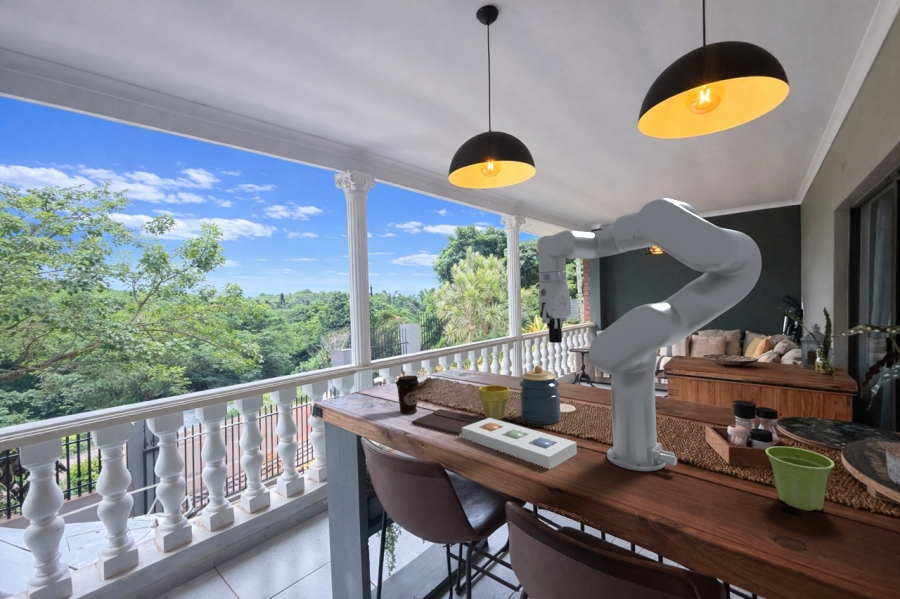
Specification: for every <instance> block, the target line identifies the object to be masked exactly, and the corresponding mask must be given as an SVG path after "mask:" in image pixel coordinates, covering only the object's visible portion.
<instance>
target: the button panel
mask: <svg viewBox="0 0 900 599" xmlns="http://www.w3.org/2000/svg"><path fill="white" fill-rule="evenodd" d="M487 423H495V424H498V425H499V429H497V430H494V431H492V432H491V431H488V430H485V429H483V425H484V424H487ZM511 430H518V431H522V432H523V433H524V437H521V438H519V439H517V440H516V439H513V438H510V437H507V436H506V432H508V431H511ZM461 438H462V439H464V438H465V439H464V440H467V439H468V441H470V440H471V441H470V442H473V443H475V442H476V443H475V444H478V443H479V445H481V446H483V447H486V446H487V448H489V447H490V448H489V449H492V448H493V450H495V451H497V450H499V451H498V452H500V451H501V452H500V453H503V452H505V453H504V454H506V453H507V454H506V455H508V454H510V455H509V456H511V455H513V456H512V457H514V456H515V457H514V458H517V457H518V458H517V459H519V458H521V459H520V460H522V459H524V460H523V461H525V460H526V461H525V462H528V461H529V462H528V463H530V462H532V463H531V464H533V463H534V464H533V465H536V464H537V465H536V466H538V465H540V466H539V467H541V466H543V467H542V468H544V467H545V469H547V468H548V469H547V470H549V469H550V470H551V468H552V469H554V468H555V467H557V466H558V465H560V464H562V463H564V462H565V461H567V460H569V459H570V458H572V457H574V456H577V454H578V450H577V441H574V440H570V439H567V438H563V437H559V436H557V435H552V434H549V433H545V432H541V431H538V430H534V429H530V428H529V427H524V426H521V425H517V424H514V423H511V422H507V421H503V420H501V419H493V418H486V419H485V420H482V421H479V422H476V423H473V424H471V425H468V426H465V427H462V434H461ZM539 438H544V439H549V440H551V441H552V446H550V447H548V448H546V449H545V448H541V447H538V446H535V445H533V441H534V440H535V439H539Z"/></svg>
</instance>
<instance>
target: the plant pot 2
mask: <svg viewBox="0 0 900 599" xmlns="http://www.w3.org/2000/svg"><path fill="white" fill-rule="evenodd" d="M765 455H766V456H768V460H769V462H770V463H771V468H772V473H773V477H774V478H773V479H774V484H775V488H776V492H777V498H778V499H779V500H780V501H783V502H784V503H786V504H787V505H788V506H790V507H793V508H796V509H799V510H802V511H814V510H817V511H822V509H823V507H824V503H825V494H826V489H827V482H828V478H829V475H830V474H831V470H833V469H834V467H835V462H834V461H833V460H832V459H830V458H829V457H827V456H825V455H823V454H820V453H819V452H818V453H817V452H814V451H812V450H808V449H807V450H806V449H804V448H798V447H792V446H782V445H781V446H777V445H776V446H770V447H767V448H766V449H765Z"/></svg>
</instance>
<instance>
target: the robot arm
mask: <svg viewBox="0 0 900 599" xmlns="http://www.w3.org/2000/svg"><path fill="white" fill-rule="evenodd" d="M758 246H759V245H757V243H756V241H754V239H752V237H751V236H750V235H747V234H745V233H744V232H741V231H738V230H733V229H730V228H729V229H728V228H722V227H720V226H717V225H715V224H713V223H711V222H710V221H708V220H706V219H704V218H702V217H700V216H699V214H698V212H697V210H696V208H694V207H693V206H692V205H691V204H689V203H686V202H683V201H679V200H675V199H671V198H667V197H666V198H656V199H654V200H651V201H649V202H647V203H646V204H644V205H643V206H642V207H641V209H640V210H639V211H636V212H633V213H629V214H625V215H621V216H619V217H617V218H616V219H615V221H614V223H613V226H611V227H607V228H603V229H600V230H596V231H595V230H594V231H582V230H573V229H565V230H562V231H560V232H558V233H556V234H552V235H543V236H541V237H540V238H539V239H538V241H537V255H538V273H539V274H538V276H539V277H538V278H539V288H538V314H539V317H540V318H541V322H542V323H543V324H546V326H547V327H546V328H547V329H548V341H549V343H552V344H553V343H555V344H557V343H558V344H560V343H562V342H563V337H562V336H563V334H562V333H563V332H562V329H563V327H564V326H563V323H564V322H566V321H567V318H569V317H570V316H571V315H572V307H571V297H570V291H569V289H570V288H569V285H568V282H567V266H566V265H567V264H566V263H567V261H566V259H575V260H576V259H579V260H580V259H581V260H592V259H597V258H603V257H609V256H614V255H618V254H622V253H625V252H629V251H634V250H639V249H644V248H652V247H657V248H659V249H660V250H662V251H663V252H665V253H667V254H668V255H670V256H671V257H672V258H674V259H675V260H678V262H680V263H681V264H683V265H685V266H687V267H689V268H690V269H692V270H695V271H697V272H701V273H702V275H701V276H699V277H697V278H695V279H694V280H692V281H690V282H689V283H687V284H686V285H684V286H683V287H682V288H680V289H679V290H678V291H677V292H676V293H674V294H672V295H671V296H669V297H668V298H667V299H665V300H663V301H660V302H656V303H646V304H643V305H638V306H636V307H634V308H632V309H631V310H629V311H628V312H626V313H625V314H623V315H621V316H620V317H619V318H618V319H617V320H616V321H614V322H613V323H611V324H610V325H609V326H608V327H606V328H605V329H604V330H603V331H601V332H599V333H598V334H597V336H595V337H594V338H593V340H592V342H591V343H590V346H589V350H588V353H589V354H588V355H589V360H590V362H591V364H592V366H593V367H594V368H595V369H596V370H598V371H599V372H601V373H604V374H608V375H611V379H610V380H611V381H610V392H611V394H610V398H611V416H612V417H611V418H612V419H611V420H612V422H611V423H612V441H613V443H612V445H613V446H612V447H610V448H609V449H608V450H607V451H606V456H607V459H608V460H609V462H610V463H612V464H614V465H615V466H618V467H621V468H624V469H627V470H631V471H638V472H653V471H654V472H655V471H659V470H661V469H663V468H664V467H666V464H668V465H671V466H677V463H678V457H677V456H676V454H675V453H674V452H671V451H666V450H664V449H663V448H662V442H658V440H657V439H658V438H657V435H658V434H657V418H656V417H657V415H656V412H657V410H656V388H655V386H656V385H655V384H656V382H655V380H656V379H655V378H656V366H657V358H658V350H660V349H663V348H667V347H670V346H673V345H677V344H679V343H680V342H682V341H684V340H685V339H686V338H687V337H689V336H691V335H692V334H694V333H695V332H697V331H698V330H700V329H701V328H703V327H704V326H706V325H708V324H709V323H710V322H712V321H713V320H715V319H716V318H718V317H719V316H721V315H722V314H724V313H725V312H727V311H728V310H730V309H731V308H733V307H735V306H736V305H737V304H738V303H740V302H741V301H742V300H743V299H745V297H747V295H749V294H750V292H751V291H752V290H753V289H754V287H755V286H756V284H757V282H758V281H759V278H760V275H761V272H762V266H763V265H762V264H763V263H762V255H761V251H760V249H759V247H758Z"/></svg>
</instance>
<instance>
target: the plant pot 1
mask: <svg viewBox="0 0 900 599" xmlns="http://www.w3.org/2000/svg"><path fill="white" fill-rule="evenodd" d="M478 397H479V399H480V400H481V405H482V408H483V409H482V410H483V413H484V418H486V419H487V418H493V419H496V420H501V419H503V418H505V416H506V412H507V404H508V400H509V399H510V387H508V386H506V385H501V384H499V385H498V384H492V385H484V386H483V385H482V386H480V387H479V388H478Z"/></svg>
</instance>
